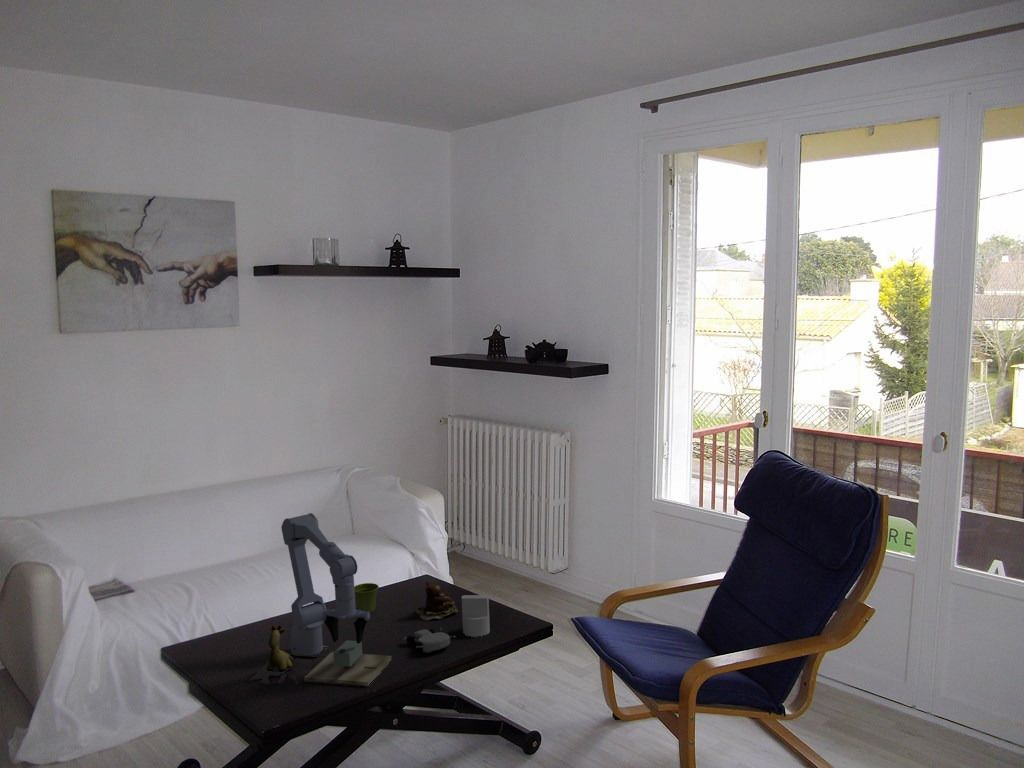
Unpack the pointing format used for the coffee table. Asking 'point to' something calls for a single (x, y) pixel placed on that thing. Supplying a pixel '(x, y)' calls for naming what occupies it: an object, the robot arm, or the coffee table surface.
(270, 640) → the stuffed giraffe
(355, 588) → the plant pot
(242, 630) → the coffee table surface
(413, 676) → the coffee table surface
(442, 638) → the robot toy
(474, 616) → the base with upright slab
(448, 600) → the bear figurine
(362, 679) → the base
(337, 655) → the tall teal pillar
